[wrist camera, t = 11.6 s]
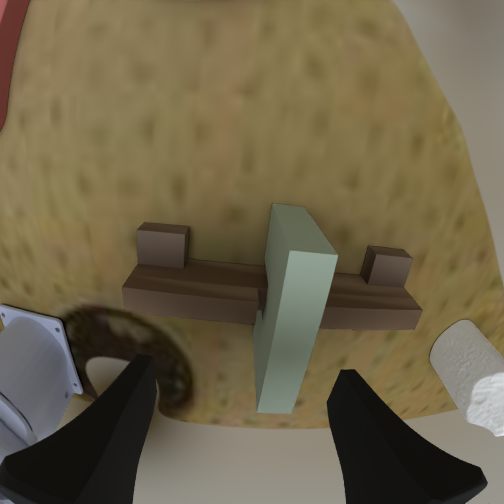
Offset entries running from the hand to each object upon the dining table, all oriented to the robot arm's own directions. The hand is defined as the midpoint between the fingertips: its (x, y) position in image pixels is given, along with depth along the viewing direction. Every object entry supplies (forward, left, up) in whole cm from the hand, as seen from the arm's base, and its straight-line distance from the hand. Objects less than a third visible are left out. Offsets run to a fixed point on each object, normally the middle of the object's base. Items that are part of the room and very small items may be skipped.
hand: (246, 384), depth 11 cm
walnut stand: (-1, -2, -10) cm, 11 cm away
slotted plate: (0, -2, -10) cm, 11 cm away
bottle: (-7, -21, -11) cm, 25 cm away
